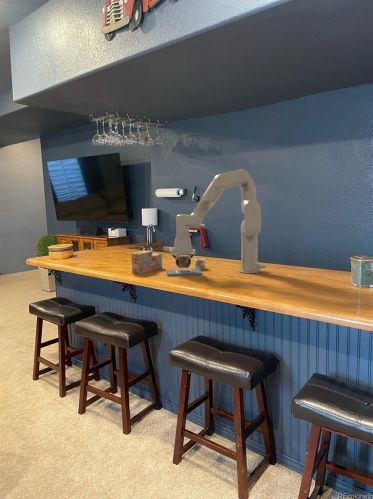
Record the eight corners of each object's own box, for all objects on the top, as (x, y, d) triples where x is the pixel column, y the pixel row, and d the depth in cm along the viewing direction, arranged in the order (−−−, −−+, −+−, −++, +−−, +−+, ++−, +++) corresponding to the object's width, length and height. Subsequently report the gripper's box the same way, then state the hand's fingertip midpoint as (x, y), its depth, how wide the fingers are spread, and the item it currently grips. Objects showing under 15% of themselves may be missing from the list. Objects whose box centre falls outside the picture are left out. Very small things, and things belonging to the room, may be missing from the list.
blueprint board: (199, 270, 230) (198, 268, 229) (202, 274, 216) (202, 272, 216) (166, 271, 228) (166, 269, 228) (167, 276, 214) (167, 274, 214)
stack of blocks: (154, 267, 244) (154, 248, 242) (162, 268, 240) (161, 249, 238) (132, 273, 226) (131, 253, 225) (139, 274, 223) (138, 253, 221)
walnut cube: (187, 265, 225) (187, 255, 224) (188, 267, 219) (188, 257, 218) (177, 266, 224) (177, 256, 223) (178, 267, 218) (178, 257, 217)
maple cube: (203, 267, 238) (203, 258, 237) (205, 269, 232) (204, 260, 231) (194, 268, 237) (194, 258, 237) (195, 270, 231) (195, 260, 231)
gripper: (196, 234, 223) (197, 264, 226) (167, 235, 222) (168, 265, 224) (198, 235, 216) (198, 266, 218) (168, 236, 214) (169, 267, 217)
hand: (183, 265), depth 221 cm, fingers closed on walnut cube, 6 cm apart
